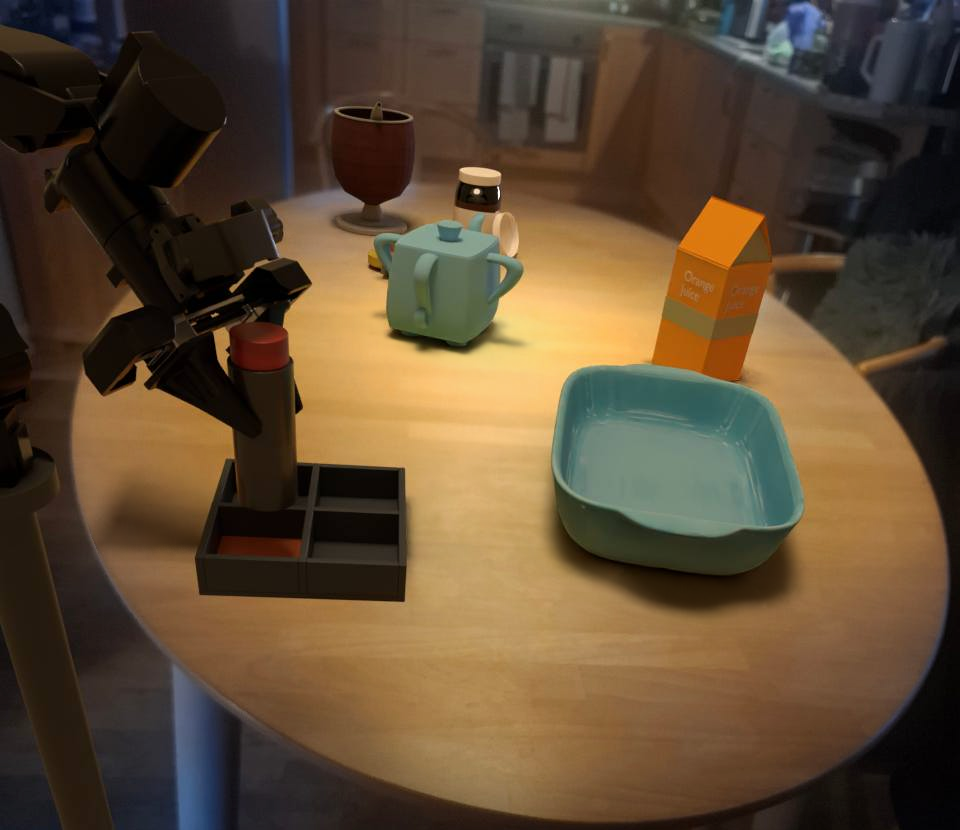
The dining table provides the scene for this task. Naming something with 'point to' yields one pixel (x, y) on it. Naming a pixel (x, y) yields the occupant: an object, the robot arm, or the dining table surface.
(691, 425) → the casserole dish
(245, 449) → the pepper grinder
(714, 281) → the orange juice
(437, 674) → the dining table surface
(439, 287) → the teapot
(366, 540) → the tray
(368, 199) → the mate gourd
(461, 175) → the spread jar
